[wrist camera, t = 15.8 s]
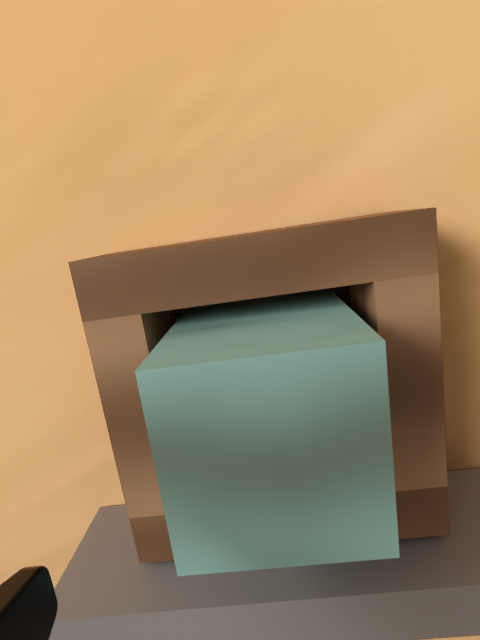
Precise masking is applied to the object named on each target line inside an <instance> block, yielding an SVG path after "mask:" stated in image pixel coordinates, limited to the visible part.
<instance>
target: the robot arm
mask: <svg viewBox="0 0 480 640" xmlns="http://www.w3.org/2000/svg"><path fill="white" fill-rule="evenodd" d="M57 609H58V602H57V597H56V594H55V591H54V587H53V584H52V580H51V577H50V574H49V571H48V569H47V568H46V567H45V566H33V567H25V568H23V569H21V570H19V571H18V572H17V573H15V574H14V575H13V576H11V577H10V578H9V579H8V580H6V581H5V582H4V583H2V584H1V585H0V640H49V638H50V634H51V631H52V628H53V625H54V622H55V619H56V615H57Z"/></svg>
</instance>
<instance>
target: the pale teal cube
mask: <svg viewBox="0 0 480 640" xmlns="http://www.w3.org/2000/svg"><path fill="white" fill-rule="evenodd" d="M135 375H136V379H137V384H138V389H139V394H140V399H141V403H142V408H143V413H144V418H145V423H146V427H147V432H148V437H149V442H150V447H151V451H152V456H153V461H154V466H155V471H156V475H157V480H158V485H159V490H160V495H161V499H162V504H163V509H164V514H165V519H166V524H167V528H168V533H169V538H170V543H171V548H172V552H173V557H174V562H175V567H176V572H177V576H188V575H200V574H212V573H224V572H236V571H248V570H260V569H272V568H284V567H296V566H308V565H319V564H331V563H343V562H355V561H367V560H379V559H391V558H400V554H399V539H398V524H397V509H396V494H395V479H394V464H393V449H392V434H391V419H390V404H389V389H388V374H387V359H386V344H385V340H384V339H383V338H382V337H381V336H380V335H378V334H377V333H376V332H375V331H374V330H373V329H372V328H371V327H370V326H369V325H368V324H367V323H366V322H364V321H363V320H362V319H361V318H360V317H359V316H358V315H357V314H356V313H355V312H354V311H353V310H352V309H350V308H349V307H348V306H347V305H346V304H345V303H344V302H343V301H342V300H341V299H340V298H339V297H338V296H337V295H335V294H334V293H333V292H332V291H331V290H330V289H329V288H328V289H320V290H313V291H305V292H298V293H290V294H283V295H276V296H269V297H261V298H254V299H247V300H240V301H232V302H225V303H218V304H210V305H203V306H196V307H189V308H187V309H186V310H185V311H184V313H183V314H182V315H181V316H180V317H179V319H178V320H177V321H176V322H175V324H174V325H173V326H172V327H171V328H170V330H169V331H168V332H167V333H166V334H165V336H164V337H163V338H162V339H161V340H160V342H159V343H158V344H157V345H156V346H155V348H154V349H153V350H152V351H151V352H150V354H149V355H148V356H147V357H146V358H145V360H144V361H143V362H142V363H141V365H140V366H139V367H138V368H137V369H136V371H135Z"/></svg>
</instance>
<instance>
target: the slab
mask: <svg viewBox="0 0 480 640" xmlns="http://www.w3.org/2000/svg"><path fill="white" fill-rule="evenodd" d="M447 483H448V506H449V530H450V535H440V536H429V537H418V538H408V539H399V554H400V558H391V559H379V560H367V561H355V562H343V563H331V564H319V565H308V566H296V567H284V568H272V569H260V570H248V571H236V572H224V573H212V574H200V575H188V576H177V572H176V567H175V562H174V560H169V561H159V562H148V563H139V558H138V554H137V550H136V546H135V541H134V537H133V533H132V529H131V525H130V520H129V516H128V512H127V508H126V504H125V505H115V506H106V507H100V508H99V510H98V512H97V514H96V516H95V517H94V519H93V521H92V523H91V525H90V526H89V528H88V530H87V532H86V534H85V535H84V537H83V539H82V541H81V543H80V544H79V546H78V548H77V550H76V552H75V553H74V555H73V557H72V559H71V561H70V562H69V564H68V566H67V568H66V570H65V571H64V573H63V575H62V577H61V579H60V580H59V582H58V584H57V586H56V588H55V589H54V591H55V594H56V597H57V602H58V609H57V615H56V619H55V622H54V625H53V628H52V631H51V634H50V638H49V640H420V639H434V638H447V637H460V636H474V635H480V468H473V469H464V470H454V471H447Z"/></svg>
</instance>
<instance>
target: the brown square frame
mask: <svg viewBox="0 0 480 640" xmlns="http://www.w3.org/2000/svg"><path fill="white" fill-rule="evenodd" d="M68 263H69V267H70V271H71V275H72V280H73V284H74V288H75V292H76V297H77V301H78V305H79V309H80V313H81V318H82V322H83V326H84V330H85V335H86V339H87V343H88V347H89V351H90V356H91V360H92V364H93V368H94V373H95V377H96V381H97V385H98V389H99V394H100V398H101V402H102V406H103V411H104V415H105V419H106V423H107V427H108V432H109V436H110V440H111V444H112V449H113V453H114V457H115V461H116V465H117V470H118V474H119V478H120V482H121V487H122V491H123V495H124V499H125V503H126V508H127V512H128V516H129V520H130V525H131V529H132V533H133V537H134V541H135V546H136V550H137V554H138V558H139V563H148V562H159V561H169V560H174V557H173V552H172V548H171V543H170V538H169V533H168V528H167V524H166V519H165V514H164V509H163V504H162V499H161V495H160V490H159V485H158V480H157V475H156V471H155V466H154V461H153V456H152V451H151V447H150V442H149V437H148V432H147V427H146V423H145V418H144V413H143V408H142V403H141V399H140V394H139V389H138V384H137V379H136V375H135V371H136V369H137V368H138V367H139V366H140V365H141V363H142V362H143V361H144V360H145V358H146V357H147V356H148V355H149V354H150V352H151V351H152V350H153V349H154V348H155V346H156V345H157V344H158V343H159V342H160V340H161V339H162V338H163V337H164V336H165V334H166V333H167V332H168V331H169V330H170V328H171V327H172V326H173V325H172V320H171V314H170V310H174V309H181V308H189V307H196V306H203V305H210V304H218V303H225V302H232V301H240V300H247V299H254V298H261V297H269V296H276V295H283V294H290V293H298V292H305V291H312V290H319V289H327V288H334V287H341V286H349V290H350V301H351V309H352V310H353V311H354V312H355V313H356V314H357V315H358V316H359V317H360V318H361V319H362V320H363V321H364V322H366V323H367V324H368V325H369V326H370V327H371V328H372V329H373V330H374V331H375V332H376V333H377V334H378V335H380V336H381V337H382V338H383V339H384V340H385V344H386V359H387V374H388V389H389V404H390V419H391V434H392V449H393V464H394V479H395V494H396V509H397V524H398V539H408V538H418V537H429V536H440V535H450V530H449V506H448V483H447V459H446V435H445V411H444V387H443V363H442V340H441V316H440V292H439V268H438V244H437V220H436V208H426V209H414V210H402V211H392V212H385V213H379V214H372V215H365V216H359V217H352V218H345V219H339V220H332V221H325V222H319V223H312V224H305V225H298V226H292V227H285V228H278V229H272V230H265V231H258V232H252V233H245V234H238V235H232V236H225V237H218V238H211V239H205V240H198V241H191V242H185V243H178V244H171V245H165V246H158V247H151V248H145V249H138V250H131V251H124V252H118V253H111V254H106V255H101V256H97V257H92V258H87V259H82V260H78V261H73V262H68Z"/></svg>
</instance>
